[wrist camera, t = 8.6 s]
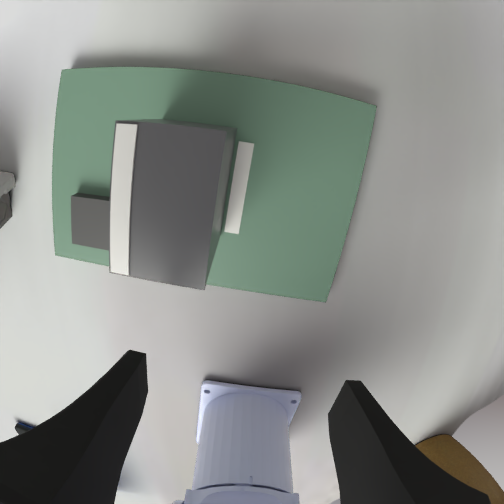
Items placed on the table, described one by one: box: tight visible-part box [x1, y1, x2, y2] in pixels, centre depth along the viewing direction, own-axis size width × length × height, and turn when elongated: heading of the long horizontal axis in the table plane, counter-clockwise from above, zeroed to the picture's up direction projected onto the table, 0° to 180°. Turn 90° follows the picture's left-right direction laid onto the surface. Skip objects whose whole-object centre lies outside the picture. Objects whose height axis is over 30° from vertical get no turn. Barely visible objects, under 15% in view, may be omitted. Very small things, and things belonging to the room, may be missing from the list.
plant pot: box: [415, 434, 504, 504], centre depth 22 cm, size 15×15×16 cm
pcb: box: [52, 67, 377, 302], centre depth 16 cm, size 12×18×4 cm, turn 80°
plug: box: [109, 119, 237, 290], centre depth 14 cm, size 6×4×6 cm, turn 170°
